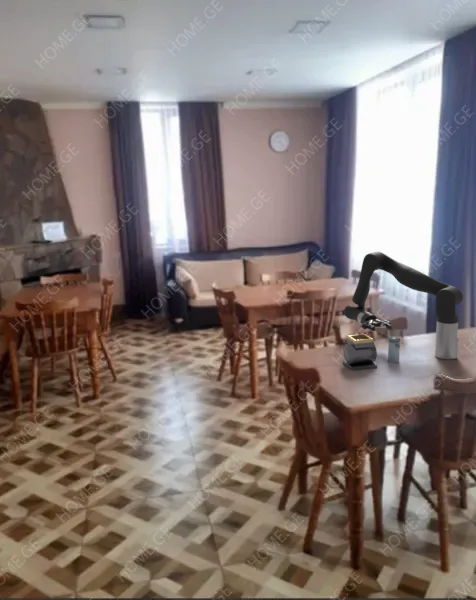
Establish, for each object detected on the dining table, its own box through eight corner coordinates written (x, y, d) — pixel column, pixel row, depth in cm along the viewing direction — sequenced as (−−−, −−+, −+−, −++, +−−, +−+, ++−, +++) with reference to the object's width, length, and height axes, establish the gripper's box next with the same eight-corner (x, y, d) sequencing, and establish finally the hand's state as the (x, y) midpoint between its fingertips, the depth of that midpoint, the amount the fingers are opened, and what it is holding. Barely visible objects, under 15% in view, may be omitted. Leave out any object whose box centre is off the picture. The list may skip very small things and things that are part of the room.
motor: (367, 360, 237) (367, 333, 234) (377, 367, 227) (377, 339, 224) (343, 363, 234) (343, 335, 232) (352, 370, 225) (352, 341, 222)
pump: (385, 359, 237) (385, 337, 235) (396, 358, 238) (396, 336, 236) (392, 364, 231) (393, 341, 228) (403, 363, 232) (404, 340, 229)
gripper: (354, 313, 257) (369, 322, 241) (380, 311, 259) (396, 319, 244) (354, 327, 258) (368, 337, 243) (379, 325, 261) (395, 334, 246)
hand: (382, 328), depth 243 cm, fingers open, 8 cm apart
